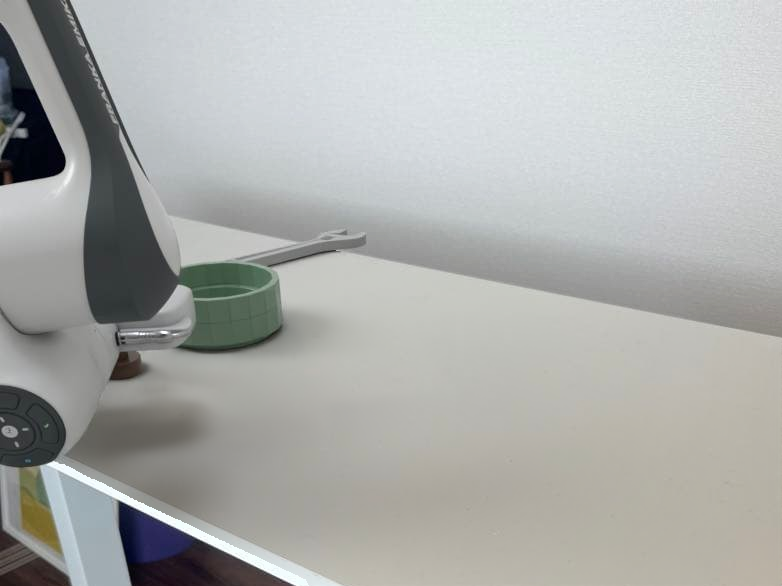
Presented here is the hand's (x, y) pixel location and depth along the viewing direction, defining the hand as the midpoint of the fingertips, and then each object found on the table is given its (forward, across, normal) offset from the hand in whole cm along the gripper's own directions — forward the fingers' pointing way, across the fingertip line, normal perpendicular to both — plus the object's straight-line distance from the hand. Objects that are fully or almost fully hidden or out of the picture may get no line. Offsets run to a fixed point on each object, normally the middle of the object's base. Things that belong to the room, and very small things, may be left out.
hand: (93, 290), depth 79 cm
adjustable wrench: (+45, -19, +10) cm, 50 cm away
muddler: (+4, 0, +10) cm, 11 cm away
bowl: (+15, -10, +10) cm, 20 cm away
